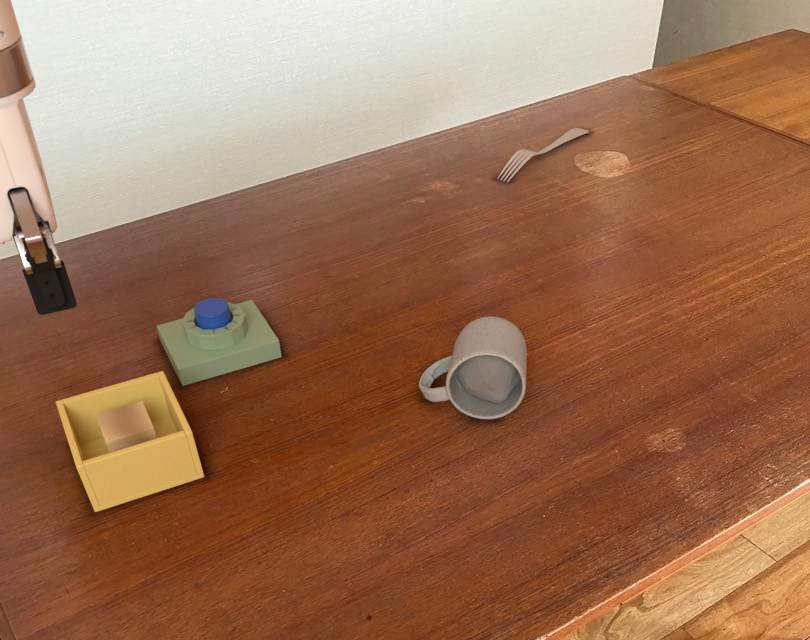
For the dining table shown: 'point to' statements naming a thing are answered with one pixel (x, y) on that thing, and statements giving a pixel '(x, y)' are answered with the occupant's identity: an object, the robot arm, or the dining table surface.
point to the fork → (564, 138)
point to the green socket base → (218, 344)
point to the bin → (137, 465)
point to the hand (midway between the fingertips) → (48, 280)
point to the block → (126, 426)
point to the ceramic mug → (482, 370)
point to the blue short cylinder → (212, 313)
